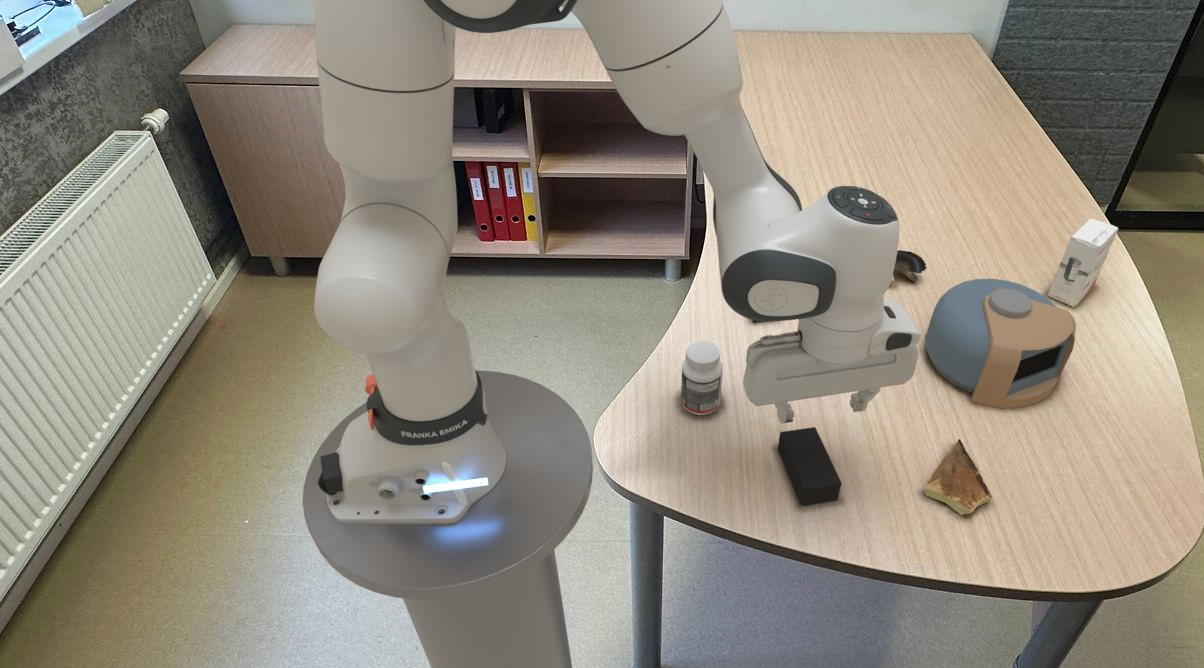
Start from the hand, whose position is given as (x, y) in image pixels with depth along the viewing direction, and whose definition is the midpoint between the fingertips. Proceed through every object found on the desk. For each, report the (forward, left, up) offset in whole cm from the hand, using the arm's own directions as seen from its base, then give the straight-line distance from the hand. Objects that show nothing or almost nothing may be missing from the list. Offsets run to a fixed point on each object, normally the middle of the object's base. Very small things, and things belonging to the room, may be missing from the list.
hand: (821, 413), depth 97 cm
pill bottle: (-11, +16, -12) cm, 23 cm away
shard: (+18, -5, -12) cm, 22 cm away
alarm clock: (+35, +16, -12) cm, 40 cm away
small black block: (0, 0, -11) cm, 11 cm away
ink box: (+58, +30, -12) cm, 66 cm away
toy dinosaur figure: (+29, +39, -12) cm, 50 cm away
